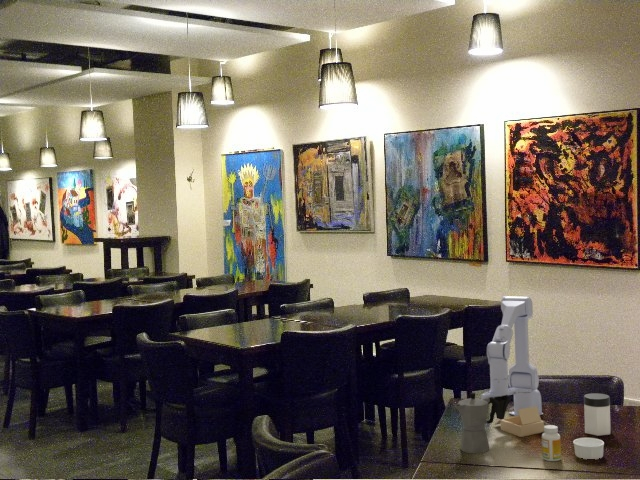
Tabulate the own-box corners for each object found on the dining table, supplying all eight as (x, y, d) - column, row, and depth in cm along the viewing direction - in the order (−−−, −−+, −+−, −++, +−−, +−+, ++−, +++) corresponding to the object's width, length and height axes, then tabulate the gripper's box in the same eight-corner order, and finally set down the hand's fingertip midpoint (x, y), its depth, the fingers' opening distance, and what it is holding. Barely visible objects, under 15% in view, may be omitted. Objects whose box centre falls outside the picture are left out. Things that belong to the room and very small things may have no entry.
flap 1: (504, 420, 270) (493, 417, 268) (515, 423, 266) (503, 421, 264) (504, 420, 270) (493, 418, 268) (514, 424, 266) (503, 421, 264)
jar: (616, 432, 265) (615, 396, 264) (603, 437, 260) (602, 400, 259) (592, 426, 272) (591, 391, 271) (578, 432, 267) (577, 396, 266)
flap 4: (524, 415, 277) (533, 421, 279) (543, 421, 269) (552, 427, 271) (524, 414, 277) (534, 421, 279) (543, 420, 269) (553, 427, 271)
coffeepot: (465, 456, 246) (463, 398, 245) (448, 448, 255) (446, 392, 254) (507, 448, 252) (505, 392, 251) (489, 441, 261) (487, 386, 260)
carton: (523, 425, 277) (523, 415, 277) (544, 431, 268) (543, 421, 268) (500, 429, 273) (500, 419, 273) (520, 437, 264) (520, 426, 264)
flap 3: (540, 420, 268) (536, 406, 270) (541, 420, 268) (536, 406, 269) (522, 424, 264) (517, 409, 266) (522, 424, 264) (517, 409, 266)
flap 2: (522, 415, 277) (514, 420, 281) (522, 414, 277) (514, 420, 281) (501, 419, 273) (493, 425, 277) (500, 418, 273) (493, 424, 277)
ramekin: (600, 462, 236) (600, 447, 236) (570, 458, 241) (569, 444, 241) (607, 453, 244) (607, 439, 244) (577, 450, 249) (577, 436, 248)
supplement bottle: (561, 456, 243) (560, 424, 242) (560, 462, 238) (559, 429, 237) (542, 455, 245) (542, 423, 244) (541, 461, 239) (540, 428, 239)
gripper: (507, 372, 273) (508, 412, 273) (474, 379, 266) (475, 419, 266) (522, 376, 267) (523, 416, 267) (488, 382, 259) (490, 424, 260)
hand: (500, 418), depth 266 cm, fingers closed
